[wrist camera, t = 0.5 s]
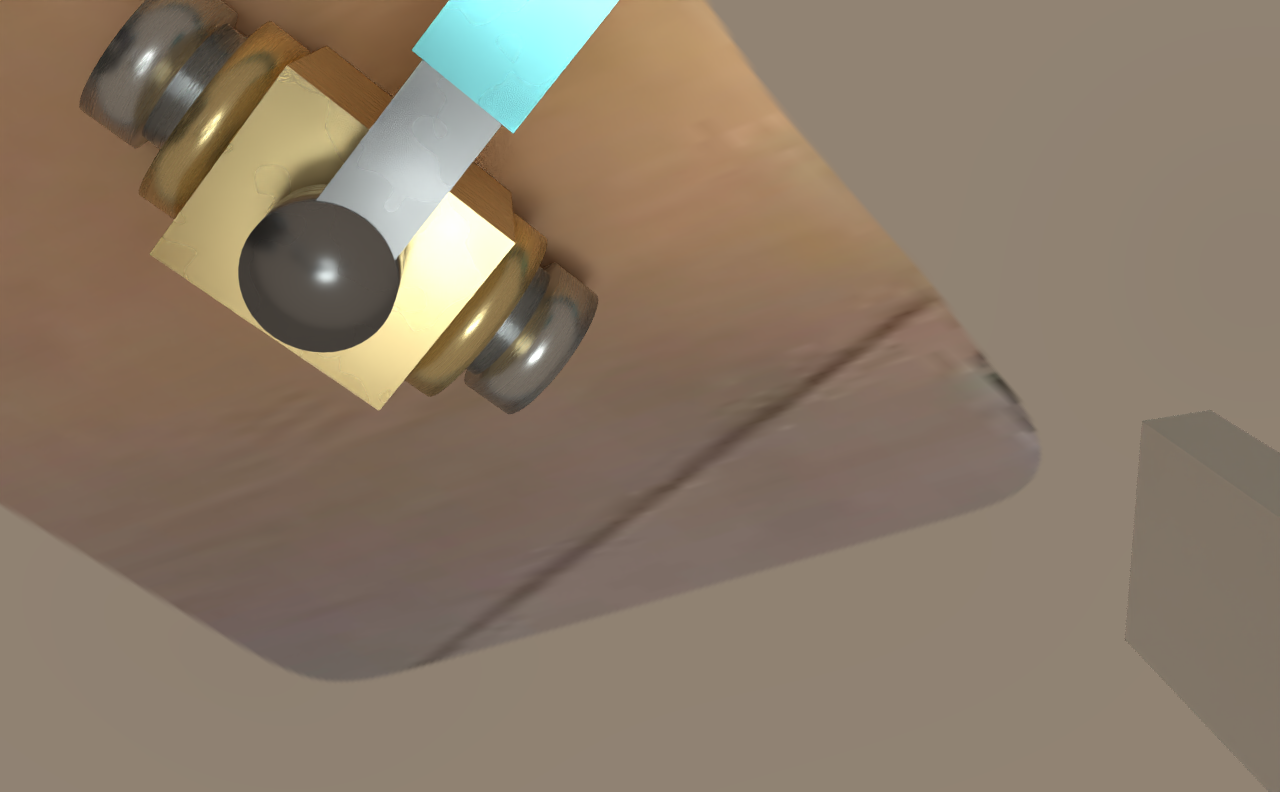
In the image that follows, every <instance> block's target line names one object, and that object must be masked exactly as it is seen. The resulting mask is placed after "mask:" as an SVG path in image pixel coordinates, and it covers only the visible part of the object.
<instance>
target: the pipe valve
mask: <svg viewBox="0 0 1280 792" xmlns="http://www.w3.org/2000/svg"><path fill="white" fill-rule="evenodd" d="M237 18H238V13H237V12H235V11H234V10H233V9H232V8H230V7H229V6H228V5H227V4H225V3H224V2H223V1H221V0H145V1H144V3H143V4H142V5H141V6H140V7H139V8H138V9H137V10H136V11H135V13H134V14H133V15H132V16H131V17H130V19H129V20H128V21H127V22H126V23H125V25H124V26H123V27H122V29H121V30H120V31H119V32H118V34H117V35H116V36H115V38H114V39H113V41H112V42H111V43H110V45H109V46H108V48H107V49H106V51H105V52H104V54H103V55H102V57H101V58H100V60H99V62H98V63H97V65H96V66H95V68H94V70H93V72H92V73H91V75H90V77H89V79H88V81H87V83H86V85H85V88H84V90H83V92H82V95H81V99H80V109H81V110H82V111H83V112H84V113H86V114H87V115H89V116H90V117H91V118H93V119H94V120H96V121H97V122H98V123H100V124H101V125H103V126H104V127H105V128H107V129H108V130H110V131H111V132H112V133H114V134H115V135H117V136H118V137H119V138H121V139H122V140H124V141H125V142H126V143H128V144H129V145H131V146H132V147H133V148H138V147H140V146H142V145H143V144H144V143H146V142H147V141H149V142H151V143H152V144H154V145H155V146H156V147H158V148H159V149H161V150H160V151H159V153H158V154H157V156H156V158H155V159H154V161H153V163H152V164H151V166H150V168H149V170H148V171H147V173H146V175H145V177H144V179H143V181H142V183H141V186H140V189H139V195H140V196H142V197H143V198H145V199H146V200H147V201H149V202H150V203H152V204H153V205H155V206H156V207H157V208H159V209H160V210H162V211H163V212H165V213H166V214H168V215H169V216H170V217H172V218H173V219H175V220H174V221H173V222H172V224H171V225H170V227H169V228H168V229H167V231H166V232H165V233H164V235H163V236H162V238H161V239H160V240H159V242H158V243H157V244H156V246H155V247H154V249H153V250H152V251H151V253H150V255H151V256H153V257H154V258H156V259H157V260H158V261H160V262H161V263H163V264H164V265H166V266H167V267H169V268H170V269H172V270H173V271H175V272H176V273H178V274H179V275H180V276H182V277H183V278H185V279H186V280H188V281H189V282H191V283H192V284H194V285H195V286H197V287H198V288H200V289H201V290H203V291H204V292H205V293H207V294H208V295H210V296H211V297H213V298H214V299H216V300H217V301H219V302H220V303H222V304H223V305H225V306H226V307H227V308H229V309H230V310H232V311H233V312H235V313H236V314H238V315H239V316H241V317H242V318H244V319H245V320H247V321H248V322H249V323H251V324H252V325H254V326H255V327H257V328H258V329H260V330H261V331H263V332H264V333H266V334H267V335H269V336H270V337H272V338H273V339H274V340H276V341H277V342H279V343H280V344H282V345H283V346H285V347H286V348H288V349H289V350H291V351H292V352H294V353H295V354H296V355H298V356H299V357H301V358H302V359H304V360H305V361H307V362H308V363H310V364H311V365H313V366H314V367H316V368H317V369H318V370H320V371H321V372H323V373H324V374H326V375H327V376H329V377H330V378H332V379H333V380H335V381H336V382H338V383H339V384H340V385H342V386H343V387H345V388H346V389H348V390H349V391H351V392H352V393H354V394H355V395H357V396H358V397H360V398H361V399H363V400H364V401H365V402H367V403H368V404H370V405H371V406H373V407H374V408H376V409H377V410H380V409H381V408H382V407H383V405H384V404H385V403H386V402H387V400H388V399H389V398H390V397H391V396H392V394H393V393H394V392H395V391H396V389H397V388H398V387H399V386H400V385H401V383H402V382H403V381H404V380H405V381H407V382H408V383H409V384H411V385H412V386H414V387H415V388H417V389H418V390H419V391H421V392H422V393H424V394H425V395H427V396H428V397H431V396H434V395H436V394H438V393H440V392H441V391H442V390H444V389H445V388H446V387H447V386H449V385H450V384H451V383H452V382H453V381H454V380H455V379H456V378H457V377H458V376H459V375H460V374H461V373H462V372H463V371H464V370H465V369H467V371H466V374H465V379H464V380H465V384H466V385H467V386H469V387H470V388H472V389H473V390H474V391H476V392H477V393H479V394H480V395H481V396H483V397H484V398H486V399H487V400H488V401H490V402H491V403H493V404H494V405H495V406H497V407H498V408H500V409H501V410H502V411H504V412H505V413H507V414H513V413H516V412H518V411H520V410H521V409H523V408H524V407H526V406H527V405H528V404H529V403H531V402H532V401H533V400H534V399H535V398H536V397H537V396H538V395H539V394H540V393H541V392H542V391H543V390H544V389H545V388H546V387H547V386H548V385H549V384H550V383H551V382H552V380H553V379H554V378H555V377H556V376H557V374H558V373H559V372H560V371H561V370H562V368H563V367H564V366H565V364H566V363H567V362H568V360H569V359H570V357H571V356H572V355H573V353H574V352H575V350H576V349H577V347H578V346H579V344H580V342H581V341H582V339H583V337H584V336H585V334H586V332H587V330H588V328H589V326H590V324H591V322H592V320H593V317H594V315H595V312H596V309H597V305H598V296H597V295H596V294H595V293H594V292H593V291H592V290H590V289H589V288H588V287H586V286H585V285H584V284H583V283H581V282H580V281H579V280H577V279H576V278H575V277H574V276H572V275H571V274H570V273H569V272H567V271H566V270H565V269H563V268H562V267H561V266H560V265H558V264H557V263H552V264H549V265H547V266H546V267H544V268H542V267H540V264H541V262H542V259H543V257H544V255H545V252H546V248H547V239H546V237H544V236H543V235H542V234H540V233H539V232H538V231H537V230H535V229H534V228H533V227H532V226H530V225H529V224H528V223H527V222H525V221H524V220H523V219H521V218H520V217H519V216H518V215H516V214H515V213H513V209H512V197H511V192H510V191H509V190H508V189H506V188H505V187H504V186H502V185H501V184H500V183H499V182H497V181H496V180H495V179H494V178H492V177H491V176H490V175H489V174H487V173H486V172H485V171H484V170H482V169H481V168H480V167H479V166H477V165H476V164H475V163H474V162H472V163H471V165H470V166H469V167H468V168H467V170H466V171H465V172H464V174H463V175H462V176H461V177H460V179H459V180H458V181H457V182H456V184H455V185H454V186H453V187H452V189H451V190H450V191H449V193H448V194H447V195H446V196H445V198H444V199H443V200H442V201H441V203H440V204H439V205H438V207H437V208H436V209H435V210H434V212H433V213H432V214H431V215H430V217H429V218H428V219H427V220H426V222H425V223H424V224H423V226H422V227H421V228H420V229H419V231H418V232H417V233H416V234H415V236H414V237H413V238H412V240H411V241H410V242H409V243H408V245H407V246H406V247H405V248H404V253H405V266H404V271H403V276H402V279H401V283H400V286H399V290H398V293H397V297H396V300H395V303H394V306H393V309H392V311H391V313H390V315H389V317H388V319H387V320H386V321H385V323H384V324H383V326H382V327H381V328H380V329H379V330H378V331H377V332H376V333H375V334H374V335H373V336H371V337H370V338H369V339H367V340H366V341H364V342H362V343H361V344H359V345H356V346H354V347H352V348H349V349H345V350H342V351H336V352H325V353H321V352H310V351H305V350H301V349H298V348H295V347H292V346H289V345H287V344H285V343H283V342H281V341H280V340H278V339H276V338H275V337H273V336H272V335H271V334H269V333H268V332H267V331H265V330H264V329H263V328H262V327H261V326H260V325H259V324H258V322H257V321H256V320H255V319H254V317H253V316H252V315H251V313H250V311H249V310H248V308H247V306H246V304H245V302H244V299H243V297H242V294H241V290H240V286H239V279H238V266H239V258H240V255H241V251H242V248H243V246H244V244H245V242H246V239H247V238H248V236H249V235H250V233H251V232H252V230H253V229H254V228H255V227H256V226H257V225H258V224H259V222H260V221H261V220H262V219H263V218H264V217H265V216H266V215H267V214H268V213H269V211H270V210H271V209H272V208H273V207H274V206H275V205H276V204H277V203H278V202H279V201H280V200H281V199H283V198H284V197H285V196H287V195H288V194H290V193H292V192H294V191H296V190H298V189H300V188H304V187H307V186H311V185H317V184H329V182H330V181H331V180H332V178H333V177H334V176H335V174H336V173H337V172H338V171H339V169H340V168H341V167H342V165H343V164H344V163H345V161H346V160H347V159H348V157H349V156H350V155H351V153H352V152H353V151H354V149H355V148H356V147H357V145H358V144H359V143H360V141H361V140H362V139H363V138H364V136H365V135H366V134H367V132H368V131H369V130H370V128H371V127H372V126H373V124H374V123H375V122H376V120H377V119H378V118H379V116H380V115H381V114H382V112H383V111H384V110H385V108H386V107H387V106H388V105H389V103H390V102H391V101H392V99H393V98H392V97H391V96H390V95H388V94H387V93H386V92H385V91H383V90H382V89H381V88H379V87H378V86H377V85H376V84H374V83H373V82H372V81H371V80H369V79H368V78H367V77H366V76H364V75H363V74H362V73H361V72H359V71H358V70H357V69H356V68H354V67H353V66H352V65H351V64H349V63H348V62H347V61H346V60H344V59H343V58H342V57H341V56H339V55H338V54H337V53H336V52H334V51H333V50H332V49H331V48H329V47H328V46H325V47H323V48H321V49H319V50H317V51H315V52H313V53H311V54H310V51H309V50H308V49H306V48H305V47H304V46H303V45H301V44H300V43H299V42H297V41H296V40H295V39H294V38H292V37H291V36H290V35H289V34H287V33H286V32H285V31H284V30H282V29H281V28H280V27H278V26H277V25H276V24H275V23H273V22H272V21H269V22H267V23H265V24H264V25H262V26H261V27H260V28H259V29H258V30H256V31H255V32H254V33H253V34H252V35H251V36H250V37H249V38H248V39H247V38H246V37H244V36H243V35H242V34H241V33H239V32H238V31H237V30H235V29H234V27H235V24H236V21H237Z"/></svg>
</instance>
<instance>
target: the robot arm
mask: <svg viewBox="0 0 1280 792" xmlns="http://www.w3.org/2000/svg"><path fill="white" fill-rule="evenodd" d="M1127 607H1128V608H1127V620H1126V632H1125V640H1126V641H1127V642H1128V644H1129V645H1130V646H1131V647H1132V648H1133V649H1134V650H1135V651H1136V652H1137V653H1138V654H1139V655H1140V656H1141V657H1142V658H1143V659H1144V660H1145V662H1146V663H1147V664H1148V665H1149V666H1150V667H1151V668H1152V669H1153V670H1154V671H1155V672H1156V673H1157V674H1158V675H1159V676H1160V677H1161V678H1162V680H1163V681H1164V682H1165V683H1166V684H1167V685H1168V686H1169V687H1170V688H1171V689H1172V690H1173V691H1174V692H1175V693H1176V694H1177V695H1178V696H1179V698H1180V699H1181V700H1182V701H1183V702H1184V703H1185V704H1186V705H1187V706H1188V707H1189V708H1190V709H1191V710H1192V711H1193V712H1194V713H1195V714H1196V716H1198V717H1199V719H1201V721H1202V722H1203V723H1204V724H1205V725H1206V726H1207V727H1208V728H1209V729H1210V730H1211V731H1212V732H1213V734H1214V735H1215V736H1216V737H1217V738H1218V739H1219V740H1220V741H1221V742H1222V743H1223V744H1224V745H1225V746H1226V747H1227V748H1228V749H1229V750H1230V752H1231V753H1232V754H1233V755H1234V756H1235V757H1236V758H1237V759H1238V760H1239V761H1240V762H1241V763H1242V764H1243V765H1244V766H1245V767H1246V768H1247V770H1248V771H1249V772H1250V773H1251V774H1252V775H1253V776H1254V777H1255V778H1256V779H1257V780H1258V781H1259V782H1260V783H1261V784H1262V785H1263V786H1264V787H1265V789H1266V790H1268V792H1280V453H1279V452H1277V451H1276V450H1274V449H1273V448H1271V447H1269V446H1268V445H1266V444H1265V443H1263V442H1261V441H1260V440H1258V439H1257V438H1255V437H1253V436H1252V435H1250V434H1249V433H1247V432H1245V431H1244V430H1242V429H1240V428H1239V427H1237V426H1236V425H1234V424H1232V423H1231V422H1229V421H1228V420H1226V419H1224V418H1223V417H1221V416H1220V415H1218V414H1216V413H1215V412H1213V411H1212V410H1208V411H1202V412H1195V413H1189V414H1183V415H1177V416H1171V417H1165V418H1158V419H1152V420H1146V421H1142V428H1141V441H1140V454H1139V467H1138V479H1137V493H1136V505H1135V519H1134V530H1133V543H1132V556H1131V568H1130V581H1129V594H1128V606H1127Z"/></svg>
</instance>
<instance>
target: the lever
mask: <svg viewBox="0 0 1280 792" xmlns="http://www.w3.org/2000/svg"><path fill="white" fill-rule="evenodd" d="M618 1H619V0H449V1H448V2H447V4H446V5H445V6H444V8H443V9H442V10H441V12H440V13H439V14H438V16H437V17H436V18H435V20H434V21H433V22H432V24H431V25H430V26H429V28H428V29H427V30H426V32H425V33H424V34H423V36H422V37H421V38H420V40H419V41H418V42H417V44H416V45H415V46H414V47H413V49H412V51H413V52H414V53H416V54H417V55H418V56H419V57H420V58H422V59H423V60H422V61H421V62H420V64H419V65H418V66H417V68H416V69H415V70H414V71H413V73H412V74H411V75H410V77H409V78H408V79H407V81H406V82H405V83H404V85H403V86H402V87H401V89H400V90H399V91H398V93H397V94H396V95H395V97H394V98H393V99H392V101H391V102H390V103H389V105H388V106H387V107H386V108H385V110H384V111H383V112H382V114H381V115H380V116H379V118H378V119H377V120H376V122H375V123H374V124H373V126H372V127H371V128H370V130H369V131H368V132H367V134H366V135H365V136H364V138H363V139H362V140H361V141H360V143H359V144H358V145H357V147H356V148H355V149H354V151H353V152H352V153H351V155H350V156H349V157H348V159H347V160H346V161H345V163H344V164H343V165H342V167H341V168H340V169H339V171H338V172H337V173H336V174H335V176H334V177H333V178H332V180H331V181H330V182H329V184H317V185H311V186H307V187H304V188H300V189H298V190H296V191H294V192H292V193H290V194H288V195H287V196H285V197H284V198H283V199H281V200H280V201H279V202H278V203H277V204H276V205H275V206H274V207H273V208H272V209H271V210H270V211H269V213H268V214H267V215H266V216H265V217H264V218H263V219H262V220H261V221H260V222H259V224H258V225H257V226H256V227H255V228H254V229H253V230H252V232H251V233H250V235H249V236H248V238H247V239H246V242H245V244H244V246H243V248H242V251H241V255H240V258H239V266H238V279H239V286H240V290H241V294H242V297H243V299H244V302H245V304H246V306H247V308H248V310H249V311H250V313H251V315H252V316H253V317H254V319H255V320H256V321H257V322H258V324H259V325H260V326H261V327H262V328H263V329H264V330H265V331H267V332H268V333H269V334H271V335H272V336H273V337H275V338H276V339H278V340H280V341H281V342H283V343H285V344H287V345H289V346H292V347H295V348H298V349H301V350H305V351H310V352H321V353H325V352H336V351H342V350H345V349H349V348H352V347H354V346H356V345H359V344H361V343H362V342H364V341H366V340H367V339H369V338H370V337H371V336H373V335H374V334H375V333H376V332H377V331H378V330H379V329H380V328H381V327H382V326H383V324H384V323H385V321H386V320H387V319H388V317H389V315H390V313H391V311H392V309H393V306H394V303H395V300H396V297H397V293H398V290H399V286H400V283H401V279H402V276H403V271H404V266H405V253H404V248H405V247H406V246H407V245H408V243H409V242H410V241H411V240H412V238H413V237H414V236H415V234H416V233H417V232H418V231H419V229H420V228H421V227H422V226H423V224H424V223H425V222H426V220H427V219H428V218H429V217H430V215H431V214H432V213H433V212H434V210H435V209H436V208H437V207H438V205H439V204H440V203H441V201H442V200H443V199H444V198H445V196H446V195H447V194H448V193H449V191H450V190H451V189H452V187H453V186H454V185H455V184H456V182H457V181H458V180H459V179H460V177H461V176H462V175H463V174H464V172H465V171H466V170H467V168H468V167H469V166H470V165H471V163H472V162H473V161H474V160H475V158H476V157H477V156H478V154H479V153H480V152H481V151H482V149H483V148H484V147H485V146H486V144H487V143H488V142H489V141H490V139H491V138H492V137H493V135H494V134H495V133H496V132H497V130H498V129H499V128H500V127H501V125H503V126H505V127H506V128H507V129H508V130H510V131H511V132H512V133H514V132H515V131H516V130H517V128H518V127H519V126H520V125H521V123H522V122H523V121H524V119H525V118H526V117H527V116H528V114H529V113H530V112H531V111H532V109H533V108H534V107H535V106H536V104H537V103H538V102H539V101H540V99H541V98H542V97H543V95H544V94H545V93H546V92H547V90H548V89H549V88H550V87H551V85H552V84H553V83H554V82H555V80H556V79H557V78H558V77H559V75H560V74H561V73H562V71H563V70H564V69H565V68H566V66H567V65H568V64H569V63H570V61H571V60H572V59H573V58H574V56H575V55H576V54H577V53H578V51H579V50H580V49H581V47H582V46H583V45H584V44H585V42H586V41H587V40H588V39H589V37H590V36H591V35H592V34H593V32H594V31H595V30H596V29H597V27H598V26H599V25H600V23H601V22H602V21H603V20H604V18H605V17H606V16H607V15H608V13H609V12H610V11H611V10H612V8H613V7H614V6H615V5H616V3H617V2H618Z"/></svg>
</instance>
